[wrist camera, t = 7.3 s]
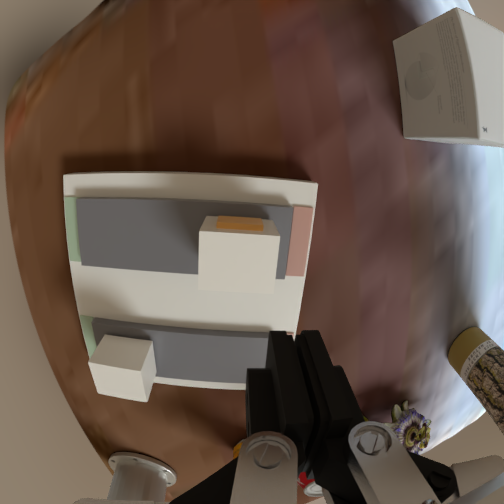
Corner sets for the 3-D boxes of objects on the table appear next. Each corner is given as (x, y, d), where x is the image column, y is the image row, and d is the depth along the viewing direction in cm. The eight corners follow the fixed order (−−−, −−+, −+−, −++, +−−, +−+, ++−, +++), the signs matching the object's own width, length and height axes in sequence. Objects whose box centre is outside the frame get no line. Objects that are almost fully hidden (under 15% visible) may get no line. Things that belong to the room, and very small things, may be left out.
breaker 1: (156, 371, 27) (147, 402, 23) (111, 364, 27) (98, 393, 23) (152, 340, 26) (140, 371, 22) (104, 334, 25) (88, 362, 21)
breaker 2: (267, 268, 24) (273, 293, 20) (204, 265, 24) (198, 289, 19) (272, 214, 22) (280, 229, 18) (206, 210, 22) (199, 224, 18)
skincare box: (450, 143, 24) (524, 151, 14) (402, 138, 24) (476, 141, 14) (440, 52, 21) (506, 31, 11) (391, 39, 20) (453, 4, 10)
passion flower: (389, 381, 41) (447, 412, 32) (361, 431, 42) (413, 462, 34) (359, 401, 33) (431, 442, 25) (327, 456, 35) (388, 496, 26)
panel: (281, 378, 32) (285, 396, 29) (99, 361, 31) (90, 377, 28) (312, 181, 25) (321, 185, 22) (74, 172, 23) (57, 176, 21)
